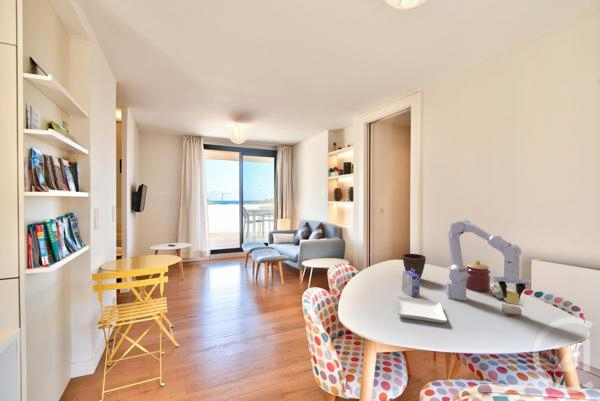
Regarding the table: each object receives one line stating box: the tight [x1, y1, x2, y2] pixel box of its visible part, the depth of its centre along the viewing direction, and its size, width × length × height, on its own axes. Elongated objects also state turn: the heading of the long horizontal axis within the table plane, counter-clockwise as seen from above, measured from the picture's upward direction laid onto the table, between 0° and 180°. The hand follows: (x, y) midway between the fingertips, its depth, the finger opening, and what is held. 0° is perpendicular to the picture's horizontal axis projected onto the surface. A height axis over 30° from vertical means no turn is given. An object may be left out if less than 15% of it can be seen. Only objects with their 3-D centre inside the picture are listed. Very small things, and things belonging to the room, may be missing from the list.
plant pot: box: [401, 253, 427, 279], centre depth 179 cm, size 15×15×16 cm
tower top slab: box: [501, 302, 523, 316], centre depth 126 cm, size 6×6×2 cm
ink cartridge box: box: [401, 268, 421, 298], centre depth 153 cm, size 10×6×14 cm, turn 12°
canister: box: [465, 260, 491, 293], centre depth 160 cm, size 13×13×18 cm
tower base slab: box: [501, 307, 522, 319], centre depth 126 cm, size 6×6×2 cm
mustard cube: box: [503, 289, 520, 305], centre depth 126 cm, size 4×4×4 cm
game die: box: [489, 284, 511, 301], centre depth 145 cm, size 9×8×10 cm
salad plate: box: [396, 296, 448, 324], centre depth 128 cm, size 21×21×3 cm
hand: (511, 297), depth 126 cm, fingers closed on mustard cube, 4 cm apart
